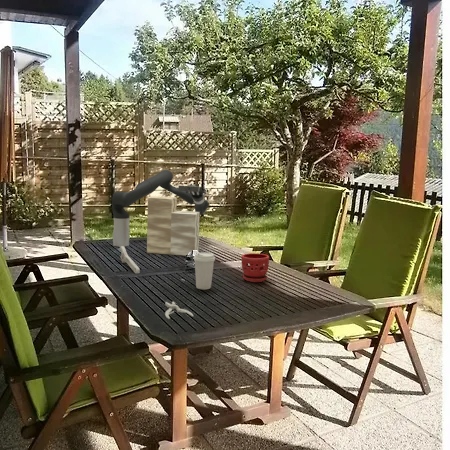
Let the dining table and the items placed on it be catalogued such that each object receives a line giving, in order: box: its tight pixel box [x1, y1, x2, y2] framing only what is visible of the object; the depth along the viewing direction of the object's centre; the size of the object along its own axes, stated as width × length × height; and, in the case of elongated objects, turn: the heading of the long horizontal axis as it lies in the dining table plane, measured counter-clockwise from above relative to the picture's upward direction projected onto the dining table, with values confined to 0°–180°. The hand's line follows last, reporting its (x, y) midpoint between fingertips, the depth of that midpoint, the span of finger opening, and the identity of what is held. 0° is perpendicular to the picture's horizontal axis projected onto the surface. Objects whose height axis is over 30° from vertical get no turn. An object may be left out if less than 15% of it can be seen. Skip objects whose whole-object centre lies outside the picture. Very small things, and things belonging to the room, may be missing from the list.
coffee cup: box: [193, 252, 216, 290], centre depth 206 cm, size 10×10×15 cm
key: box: [177, 184, 201, 192], centre depth 283 cm, size 20×12×3 cm, turn 172°
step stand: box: [146, 195, 201, 256], centre depth 272 cm, size 12×28×32 cm, turn 82°
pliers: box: [164, 301, 194, 320], centre depth 176 cm, size 10×2×15 cm
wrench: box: [118, 246, 141, 275], centre depth 238 cm, size 8×2×30 cm
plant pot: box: [241, 252, 270, 283], centre depth 222 cm, size 13×13×12 cm
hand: (193, 185), depth 287 cm, fingers closed on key, 2 cm apart
